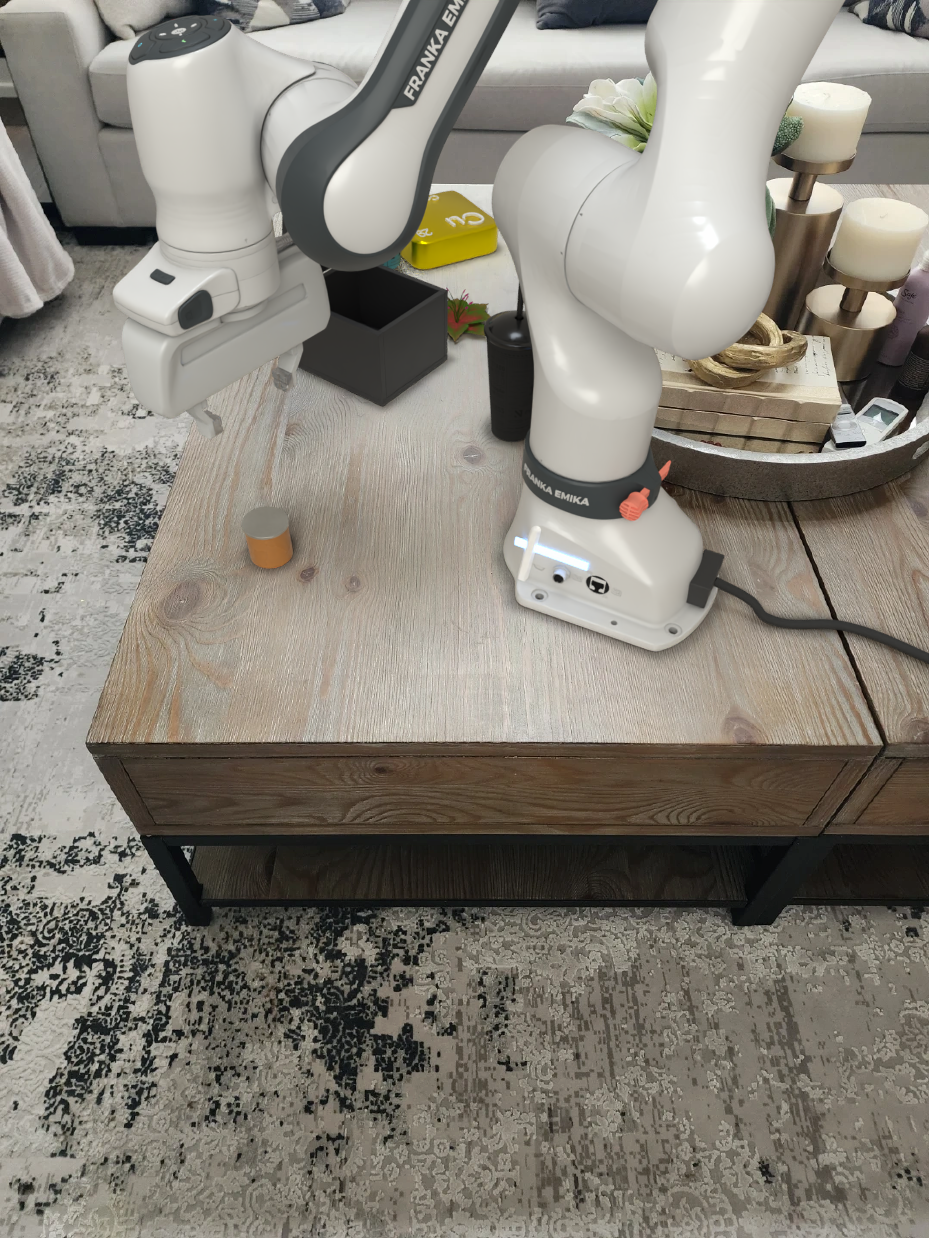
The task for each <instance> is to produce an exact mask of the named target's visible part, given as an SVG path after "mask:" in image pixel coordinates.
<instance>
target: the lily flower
mask: <svg viewBox="0 0 929 1238" xmlns="http://www.w3.org/2000/svg"><path fill="white" fill-rule="evenodd" d="M445 289H446V290H448V294H449V295H450V297H451V298H452V299H451V298H450V297H448V335H449V336H450V337H451V338H452V339H453V342H454V343H456V342H457V341H458V339H459V338H460V336H461V335H463V334H464V333H466V334H471V335H472V334H473V335H477V336H483V337H486V336H485V334H484V325H485V324H483V322H486V321H487V320H488V319H489V318H490V317H491V316H492V315H490V314H489V313H488V312H486V310H487V308H488V305H489V303H479V302H474V301H470V302H468V301H467V300H468V299H469V297H470V296H469V295H470V293H469V292H468V293H467V294H465V295H464V293H465V292H466V289H464V290H463V291H462V294H461V296H460V298H458V297H456V298H454V297H453V295H452V293H451V292H450V289H449V288H448V287H445ZM457 290H458V287H457ZM463 295H464V296H463Z"/></svg>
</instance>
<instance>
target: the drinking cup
mask: <svg viewBox="0 0 929 1238" xmlns="http://www.w3.org/2000/svg"><path fill="white" fill-rule="evenodd" d="M517 288H518V289H517V302H516V303H517V304H516V310H515V309H513V310H505V311H501V312H497V313H495V314H493V315H490V316H491V317H490V318H489V319H488V320H487V321H484V322H485V323H484V324H483V325H484V334H485V336H484V337H485V338H486V354H487V371H488V372H487V374H488V390H489V391H488V392H489V409H490V426H491V427H490V428H491V429H490V430H491V433H492V434H493V436H494V437H495V438H497V439H499V440H500V441H504V442H507V443H510V442H511V443H515V442H516V443H517V442H521V441H525V438H526V435H527V432H528V431H529V429H530V428H531V416H532V403H533V388H534V360H533V350H532V343H531V337H530V331H529V326H528V321H527V316H526V311H525V310H524V301H523V296H522V292H521V287H520V283H519V282H518V287H517Z"/></svg>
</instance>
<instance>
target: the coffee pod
mask: <svg viewBox="0 0 929 1238" xmlns="http://www.w3.org/2000/svg"><path fill="white" fill-rule="evenodd" d="M240 525H241V529H242V532H243V533H244V535H245V536H244V537H245V540H246V543H247V544H246V545H247V548H248V553H249V557H250V560H251V562H252V563H253V564H254V565H255V566H257V567H259V568H262V569H267V570H268V569H276V568H280V567H282V566H284V565H286V564H288V563H289V561H290V560H291V559H292V557H293V556H294V555H293V554H294V548H293V543H292V537H291V532H290V527H289V526H290V518H289V515H288V513H287V512H286V511H285V510H284V509H281V508H280V507H276V506H270V505H269V506H268V505H267V506H265V505H264V506H259V507H256V508H253V509H251V510H249V511H248V512H247V513H246V514H245V515H244V516H243V517H242V520H241V524H240Z"/></svg>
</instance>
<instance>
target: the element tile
mask: <svg viewBox="0 0 929 1238" xmlns="http://www.w3.org/2000/svg"><path fill="white" fill-rule="evenodd" d="M498 235H499V230H498V228H497V226H496V223H495V221H494V217H493V216H491V215H490V214H488V213H487V212H486V211H484V210H483V209H481V208H480V207H479V206H478V205H476V204H475V203H474V202H473V201H471V200H470V199H468V198H467V197H466V196H464V195H463V194H462V193H460V192H458V191H456V190H446V191H441V192H436V193H432V194H429V198H428V203H427V207H426V210H425V214H424V217H423V219H422V222H421V224H420V226H419V228H418V230H417V232H416V234H415V235H414V237H413V238H412V240H411V241H410V242H409V244H408V245H407V246H406V247H405V248H404V249H403V250H402V252H401V255H402V256H401V258H402V259H404V260H405V262H407V263H408V264H410V265H411V266H412V267H413V268H415V269H418V270H424V271H425V270H431V269H435V268H439V267H443V266H448V265H452V264H455V263H459V262H462V261H467V260H470V259H475V258H478V257H482V256H486V255H490V254H493V253H495V252H496V250H497V248H498Z"/></svg>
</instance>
